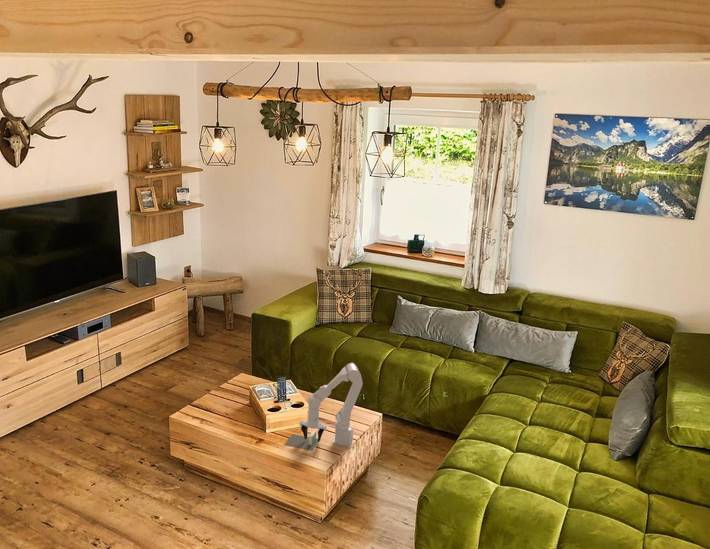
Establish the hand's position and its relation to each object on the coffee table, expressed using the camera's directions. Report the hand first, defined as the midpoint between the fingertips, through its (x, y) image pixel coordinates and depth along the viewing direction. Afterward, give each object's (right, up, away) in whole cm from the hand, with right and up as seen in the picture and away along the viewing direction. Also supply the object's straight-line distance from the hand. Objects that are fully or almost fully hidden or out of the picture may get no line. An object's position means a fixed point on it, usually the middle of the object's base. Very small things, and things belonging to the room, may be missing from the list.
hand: (312, 439), depth 331 cm
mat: (-5, -2, 0) cm, 6 cm away
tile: (0, -1, 0) cm, 1 cm away
